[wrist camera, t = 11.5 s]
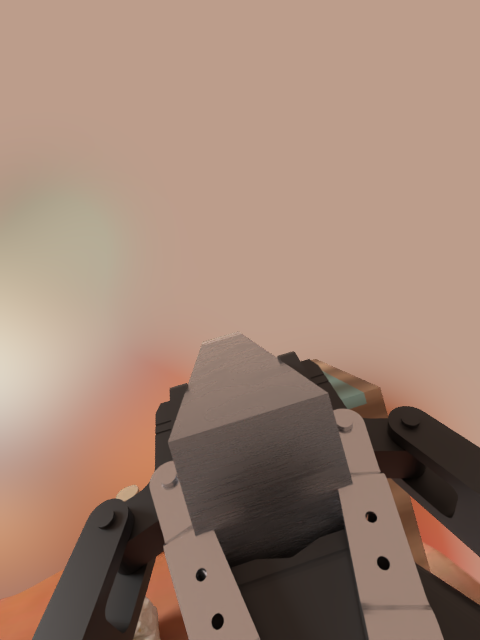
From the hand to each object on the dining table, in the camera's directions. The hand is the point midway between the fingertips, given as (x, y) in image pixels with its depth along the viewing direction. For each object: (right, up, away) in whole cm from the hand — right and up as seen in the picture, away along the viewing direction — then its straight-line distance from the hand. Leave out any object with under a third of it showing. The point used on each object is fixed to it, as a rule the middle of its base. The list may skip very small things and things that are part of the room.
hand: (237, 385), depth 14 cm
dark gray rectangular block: (0, -3, +8) cm, 8 cm away
